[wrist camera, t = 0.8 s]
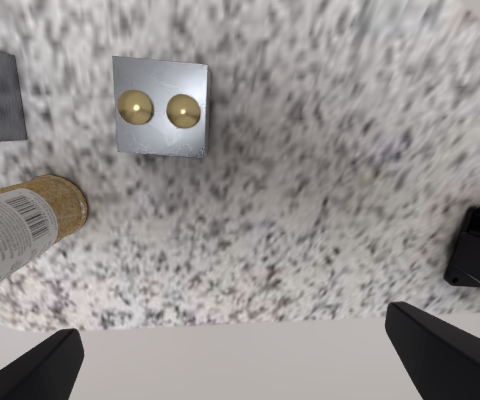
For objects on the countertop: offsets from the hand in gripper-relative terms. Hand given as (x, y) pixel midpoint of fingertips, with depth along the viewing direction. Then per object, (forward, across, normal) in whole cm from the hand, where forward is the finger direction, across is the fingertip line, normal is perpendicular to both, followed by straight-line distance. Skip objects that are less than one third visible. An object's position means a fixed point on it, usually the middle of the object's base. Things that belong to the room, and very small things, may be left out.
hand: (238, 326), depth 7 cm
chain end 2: (+12, +3, -6) cm, 14 cm away
